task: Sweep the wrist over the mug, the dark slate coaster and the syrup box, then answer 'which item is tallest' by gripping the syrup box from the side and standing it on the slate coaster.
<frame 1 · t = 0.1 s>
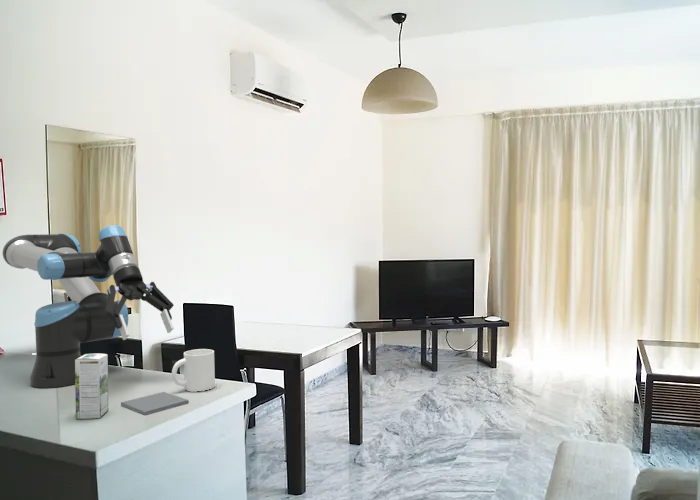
hand: (149, 334, 158), 15 cm above the counter, tool tilted 35°, fingers open, 13 cm apart
coaster: (154, 404, 143), on the counter
mug: (193, 390, 156), on the counter
syrup box: (92, 416, 135), on the counter
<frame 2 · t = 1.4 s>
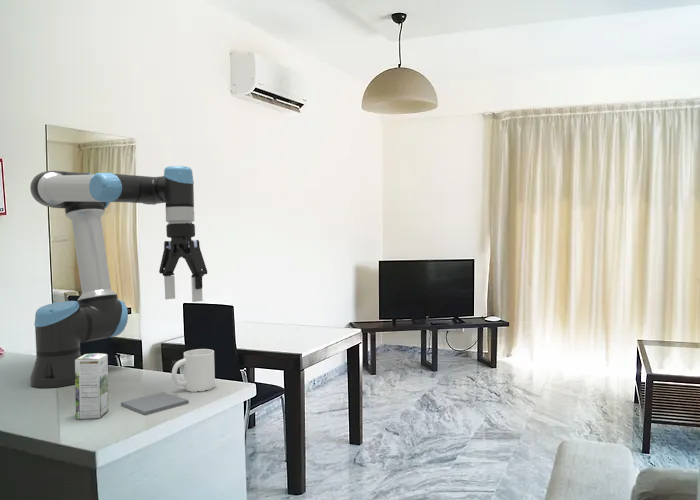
hand: (183, 300, 154), 25 cm above the counter, tool pointing down, fingers open, 13 cm apart
nothing on the counter moved.
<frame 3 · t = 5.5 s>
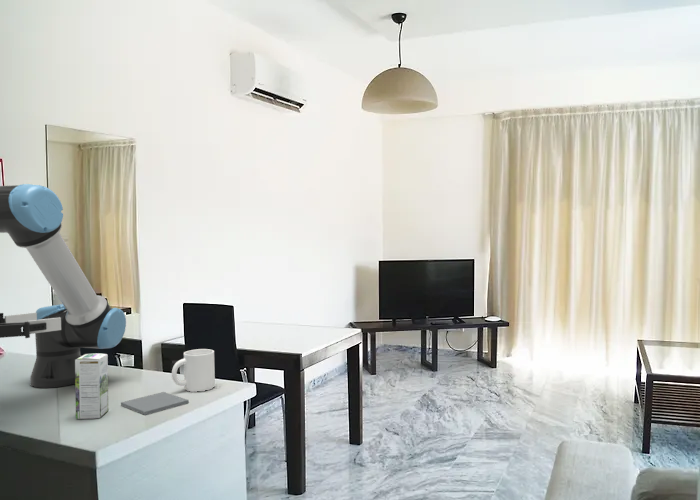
hand: (48, 320, 127), 24 cm above the counter, tool horizontal, fingers open, 13 cm apart
nothing on the counter moved.
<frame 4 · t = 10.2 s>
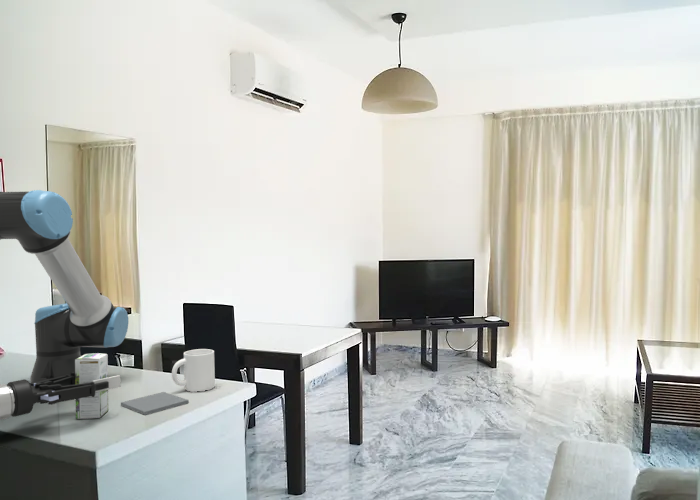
hand: (111, 378, 138), 8 cm above the counter, tool horizontal, fingers closed on syrup box, 8 cm apart
syrup box: (92, 416, 135), on the counter, touching gripper
everything else where it was.
when the fingers open (10 cm above the counter, at t = 14.9 s): syrup box drops 1 cm, resting on coaster.
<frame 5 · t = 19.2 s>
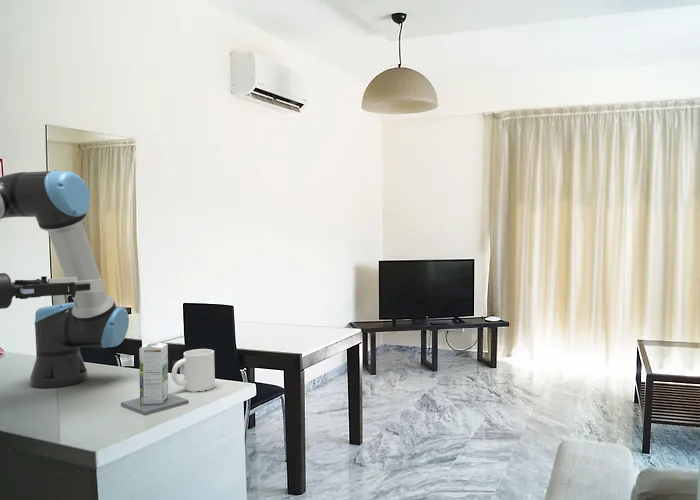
hand: (89, 283, 132), 32 cm above the counter, tool horizontal, fingers open, 13 cm apart
syrup box: (154, 402, 143), point 1 cm above the counter, touching coaster
everything else where it was.
at the end: syrup box inside the target area on the coaster (0.1 cm from its centre), point 0.6 cm above the coaster's base; syrup box tilted 0°; the gripper is holding nothing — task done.
